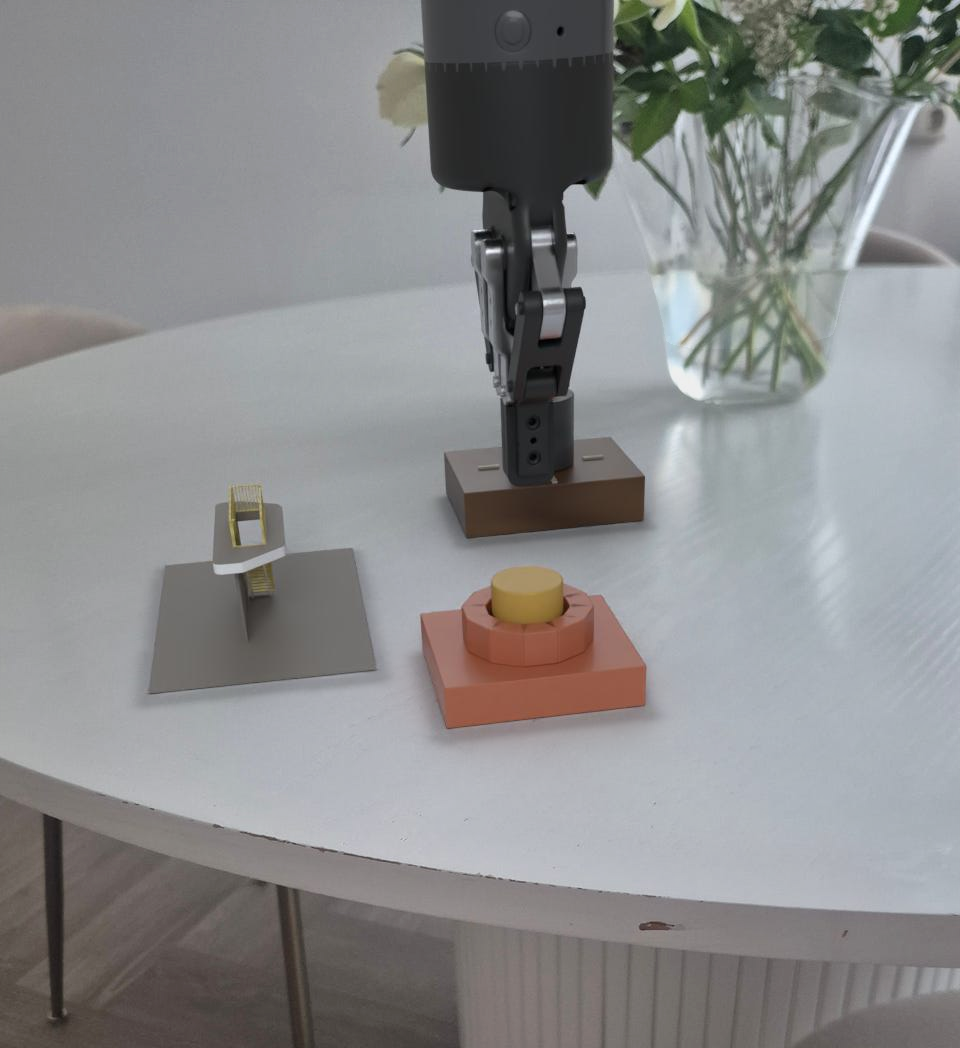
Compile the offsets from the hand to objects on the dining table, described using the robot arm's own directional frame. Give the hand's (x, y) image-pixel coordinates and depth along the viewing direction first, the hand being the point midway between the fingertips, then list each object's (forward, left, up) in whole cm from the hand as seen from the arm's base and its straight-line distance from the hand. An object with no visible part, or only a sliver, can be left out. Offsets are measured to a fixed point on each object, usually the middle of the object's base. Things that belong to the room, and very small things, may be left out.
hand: (528, 479), depth 60 cm
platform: (+14, -12, -11) cm, 21 cm away
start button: (0, 0, -7) cm, 7 cm away
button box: (0, 0, -10) cm, 10 cm away
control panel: (-6, -25, -10) cm, 28 cm away
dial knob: (-6, -25, -7) cm, 27 cm away
